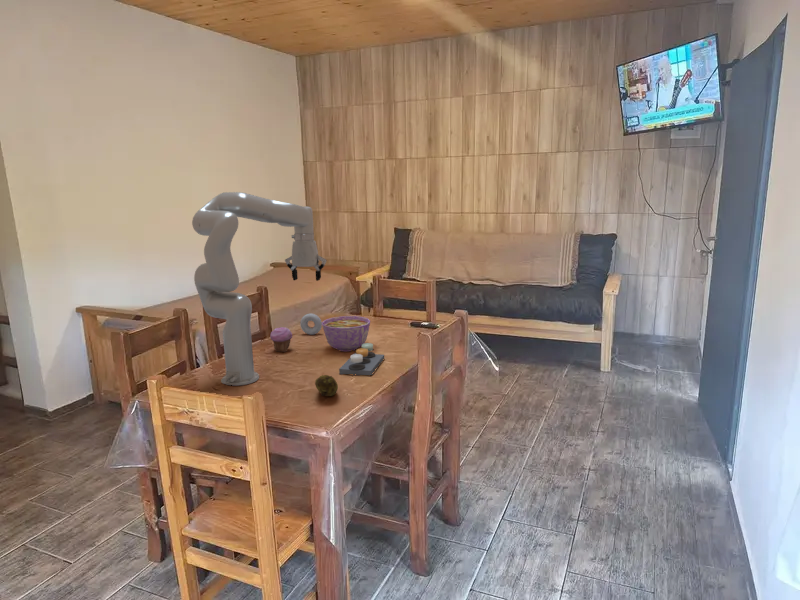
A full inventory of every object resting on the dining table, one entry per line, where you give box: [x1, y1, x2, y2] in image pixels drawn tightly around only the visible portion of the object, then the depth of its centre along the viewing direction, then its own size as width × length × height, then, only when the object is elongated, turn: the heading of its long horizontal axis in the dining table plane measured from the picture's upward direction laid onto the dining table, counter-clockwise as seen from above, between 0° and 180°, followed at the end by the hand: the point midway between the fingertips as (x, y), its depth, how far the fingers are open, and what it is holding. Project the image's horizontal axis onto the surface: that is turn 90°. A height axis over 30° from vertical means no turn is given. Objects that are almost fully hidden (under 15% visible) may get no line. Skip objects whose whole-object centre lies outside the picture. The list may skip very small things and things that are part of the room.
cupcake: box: [269, 326, 293, 353], centre depth 233 cm, size 9×9×10 cm
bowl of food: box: [321, 315, 371, 352], centre depth 233 cm, size 20×20×12 cm
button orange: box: [355, 347, 369, 357], centre depth 211 cm, size 4×4×2 cm
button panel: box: [338, 351, 385, 376], centre depth 212 cm, size 20×12×3 cm, turn 167°
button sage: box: [361, 342, 374, 352], centre depth 217 cm, size 4×4×2 cm
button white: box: [350, 353, 363, 363], centre depth 204 cm, size 4×4×2 cm
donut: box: [299, 312, 323, 336], centre depth 256 cm, size 10×4×10 cm, turn 85°
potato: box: [314, 374, 339, 397], centre depth 183 cm, size 8×13×8 cm, turn 172°
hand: (306, 280), depth 228 cm, fingers open, 9 cm apart
